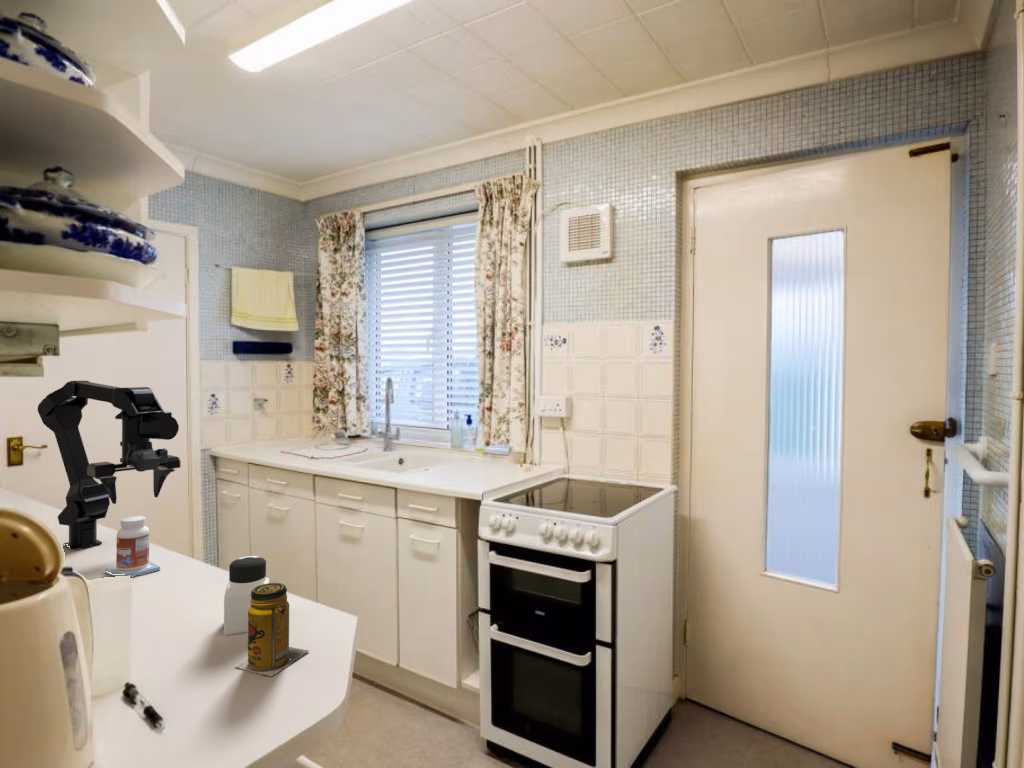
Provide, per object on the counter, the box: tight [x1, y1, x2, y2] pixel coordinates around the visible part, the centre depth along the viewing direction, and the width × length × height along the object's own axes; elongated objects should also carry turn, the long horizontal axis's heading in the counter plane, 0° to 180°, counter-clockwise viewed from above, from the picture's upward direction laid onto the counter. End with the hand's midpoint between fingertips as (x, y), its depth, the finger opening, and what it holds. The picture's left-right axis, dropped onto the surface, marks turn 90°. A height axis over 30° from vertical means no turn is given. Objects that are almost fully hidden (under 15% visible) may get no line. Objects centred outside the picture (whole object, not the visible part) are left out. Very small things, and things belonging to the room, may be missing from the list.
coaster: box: [105, 560, 161, 578], centre depth 127 cm, size 8×8×1 cm
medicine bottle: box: [223, 555, 270, 636], centre depth 102 cm, size 7×7×12 cm
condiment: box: [234, 582, 310, 677], centre depth 90 cm, size 7×8×12 cm
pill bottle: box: [115, 515, 150, 571], centre depth 127 cm, size 6×6×11 cm
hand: (135, 500), depth 140 cm, fingers open, 9 cm apart
